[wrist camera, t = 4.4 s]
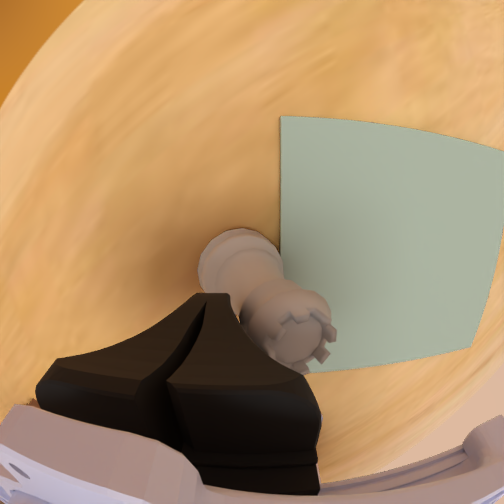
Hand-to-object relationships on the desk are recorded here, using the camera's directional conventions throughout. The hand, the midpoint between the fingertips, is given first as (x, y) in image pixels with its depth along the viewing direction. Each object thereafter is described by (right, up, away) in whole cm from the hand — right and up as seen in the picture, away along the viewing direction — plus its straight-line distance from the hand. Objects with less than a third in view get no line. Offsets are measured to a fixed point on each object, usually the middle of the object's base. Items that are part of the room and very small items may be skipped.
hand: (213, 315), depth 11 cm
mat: (+12, +2, +6) cm, 13 cm away
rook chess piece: (+1, +2, +5) cm, 5 cm away
